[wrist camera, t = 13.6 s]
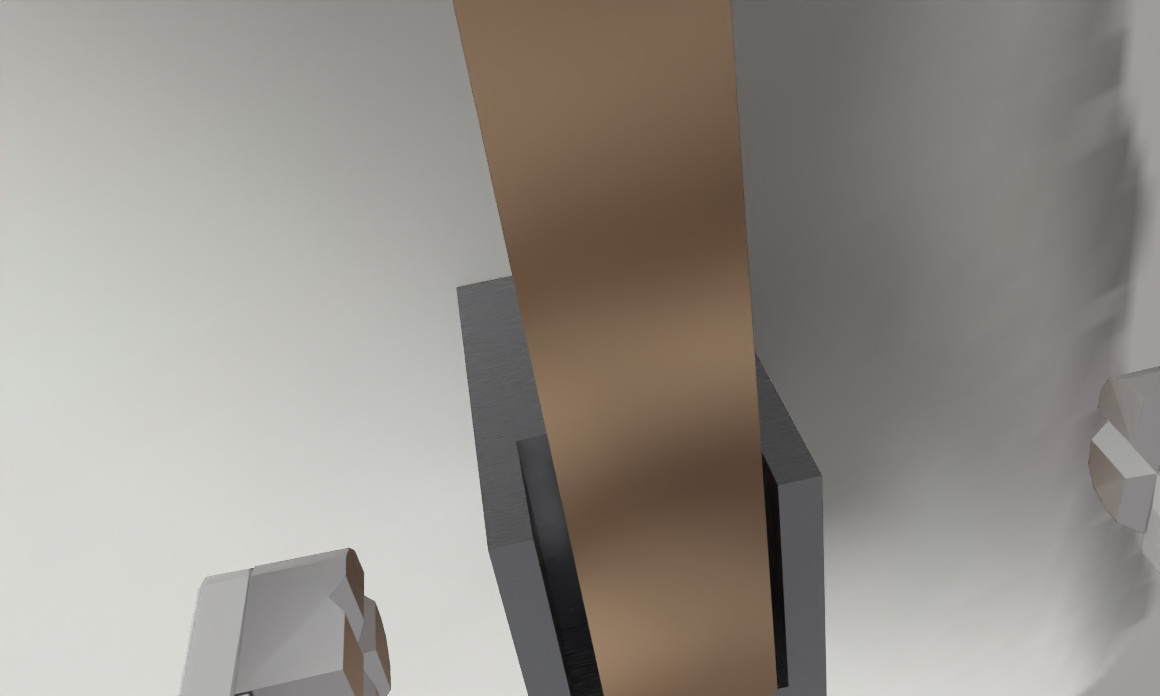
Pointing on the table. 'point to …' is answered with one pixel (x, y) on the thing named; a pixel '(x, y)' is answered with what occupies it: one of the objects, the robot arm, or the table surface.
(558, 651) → the cup bracket
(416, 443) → the table surface
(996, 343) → the table surface
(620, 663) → the rail
